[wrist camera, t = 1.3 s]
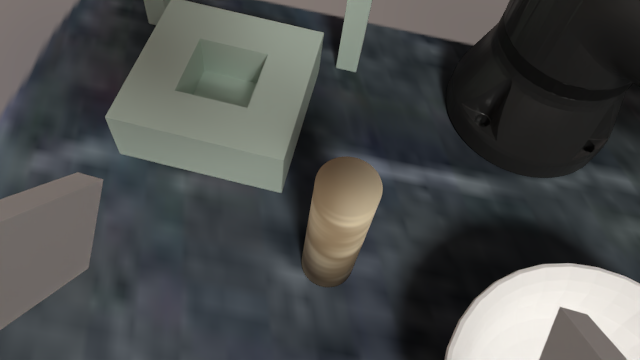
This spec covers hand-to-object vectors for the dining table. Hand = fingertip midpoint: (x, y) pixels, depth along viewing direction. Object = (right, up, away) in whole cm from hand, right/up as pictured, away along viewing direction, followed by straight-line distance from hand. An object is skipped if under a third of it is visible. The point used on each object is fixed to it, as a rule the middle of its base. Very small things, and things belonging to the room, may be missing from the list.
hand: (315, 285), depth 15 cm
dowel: (+1, -3, +26) cm, 27 cm away
